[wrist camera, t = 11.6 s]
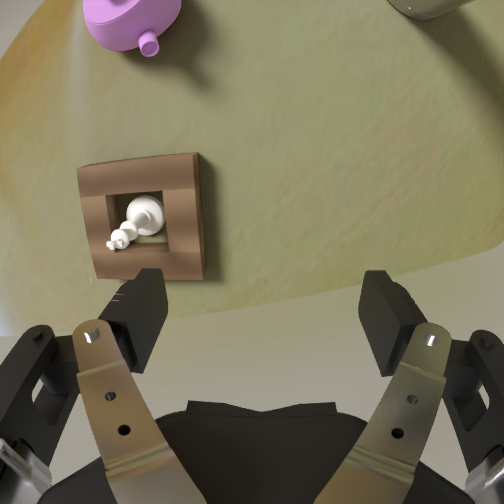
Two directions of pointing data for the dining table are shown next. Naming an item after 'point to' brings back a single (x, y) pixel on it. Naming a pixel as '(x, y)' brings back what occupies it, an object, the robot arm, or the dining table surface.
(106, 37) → the teapot
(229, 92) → the dining table surface
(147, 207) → the chess piece
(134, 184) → the socket block
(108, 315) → the robot arm
